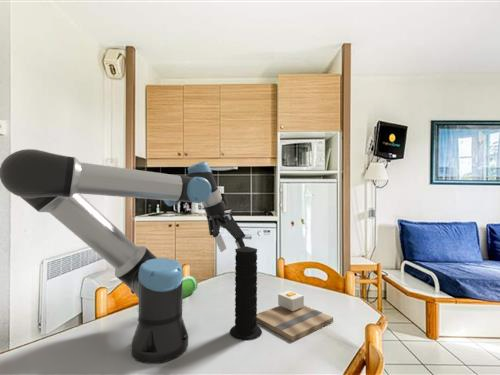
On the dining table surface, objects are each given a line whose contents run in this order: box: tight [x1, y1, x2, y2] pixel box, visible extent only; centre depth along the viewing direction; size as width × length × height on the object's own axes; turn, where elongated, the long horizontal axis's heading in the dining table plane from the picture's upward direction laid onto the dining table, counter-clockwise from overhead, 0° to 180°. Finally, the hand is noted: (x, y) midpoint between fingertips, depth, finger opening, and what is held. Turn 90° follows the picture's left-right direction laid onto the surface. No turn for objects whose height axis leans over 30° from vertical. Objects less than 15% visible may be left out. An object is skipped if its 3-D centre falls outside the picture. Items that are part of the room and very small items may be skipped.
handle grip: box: [229, 245, 263, 341], centre depth 87 cm, size 10×26×10 cm
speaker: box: [182, 275, 198, 299], centre depth 114 cm, size 18×7×8 cm, turn 149°
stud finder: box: [277, 290, 305, 311], centre depth 102 cm, size 6×7×4 cm
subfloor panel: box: [256, 305, 334, 342], centre depth 94 cm, size 20×18×2 cm
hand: (233, 252), depth 107 cm, fingers open, 13 cm apart
